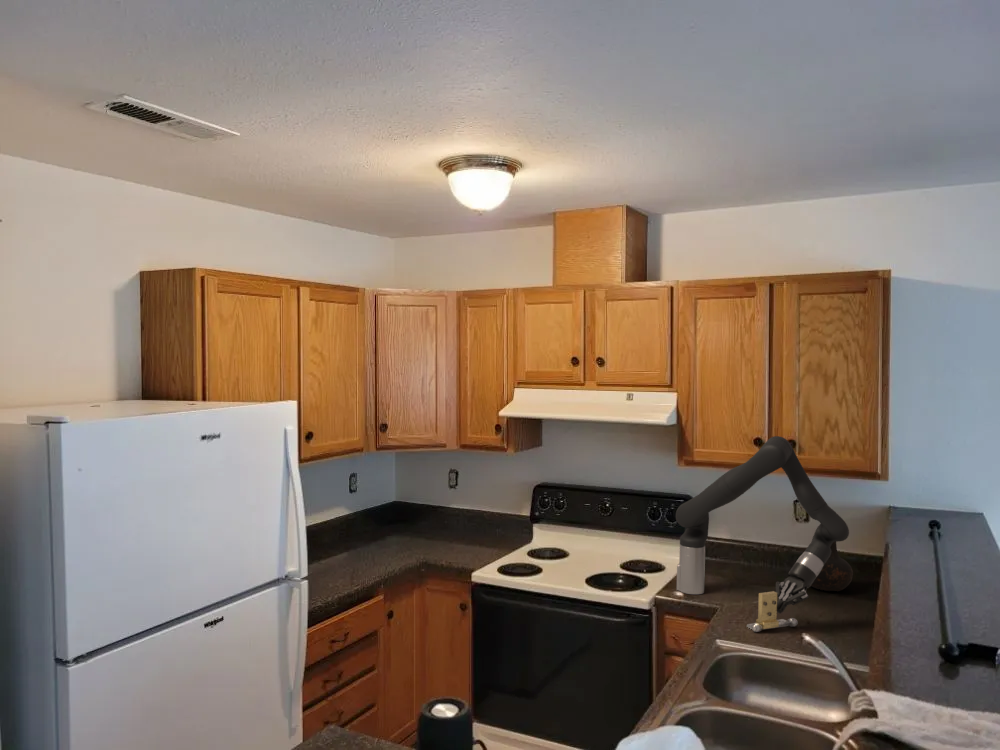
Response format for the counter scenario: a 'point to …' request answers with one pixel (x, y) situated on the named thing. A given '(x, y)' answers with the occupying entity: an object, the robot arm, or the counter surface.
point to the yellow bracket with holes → (767, 610)
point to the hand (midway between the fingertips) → (776, 611)
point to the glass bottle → (834, 573)
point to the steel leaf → (782, 623)
